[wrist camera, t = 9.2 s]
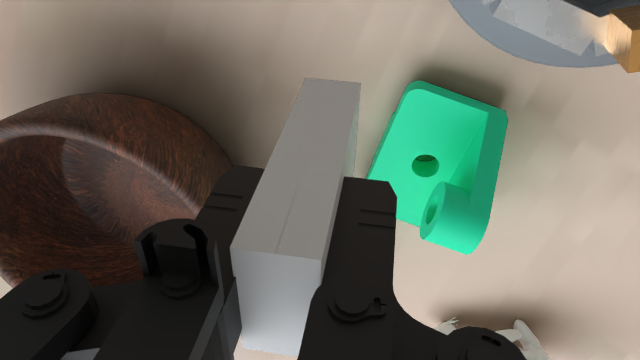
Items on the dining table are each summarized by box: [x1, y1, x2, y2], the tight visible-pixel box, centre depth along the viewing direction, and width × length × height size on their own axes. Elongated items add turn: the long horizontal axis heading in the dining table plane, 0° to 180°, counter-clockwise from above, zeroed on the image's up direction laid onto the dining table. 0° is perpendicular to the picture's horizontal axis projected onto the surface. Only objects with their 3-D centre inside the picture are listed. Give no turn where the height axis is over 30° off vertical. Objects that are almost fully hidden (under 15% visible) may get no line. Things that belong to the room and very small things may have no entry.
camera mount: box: [366, 81, 508, 254], centre depth 36 cm, size 12×8×10 cm, turn 164°
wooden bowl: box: [0, 93, 233, 288], centre depth 44 cm, size 25×25×10 cm
